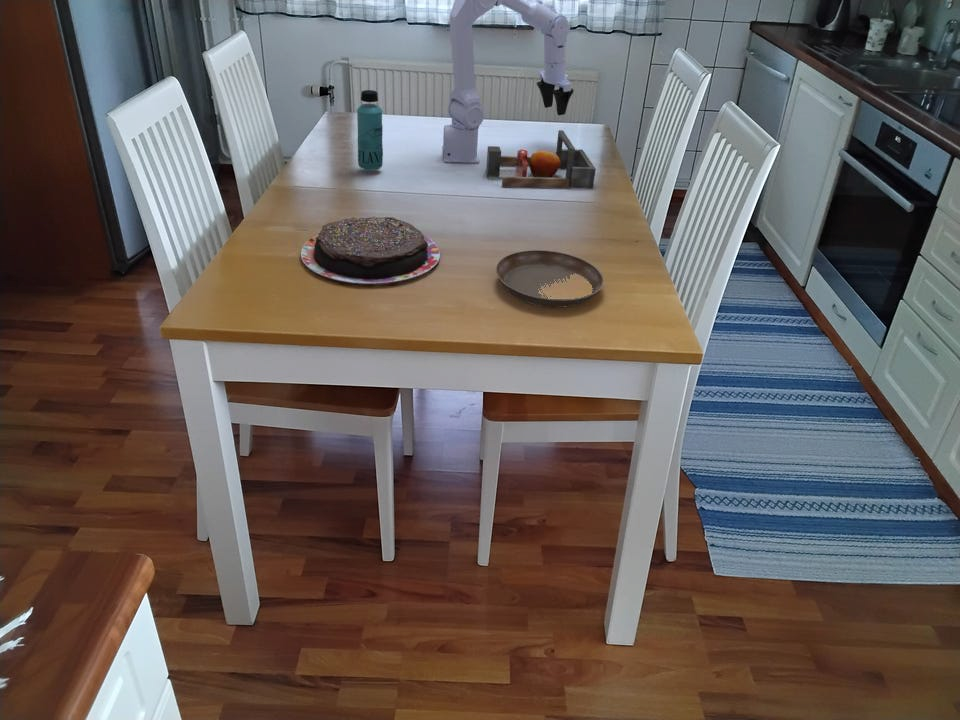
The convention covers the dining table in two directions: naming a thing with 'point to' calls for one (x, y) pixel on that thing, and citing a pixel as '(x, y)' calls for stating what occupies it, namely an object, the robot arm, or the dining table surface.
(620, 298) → the dining table surface
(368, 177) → the dining table surface
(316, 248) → the chocolate cake
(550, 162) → the fruit
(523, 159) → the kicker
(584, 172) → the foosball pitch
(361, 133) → the beverage bottle
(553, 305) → the plant saucer
